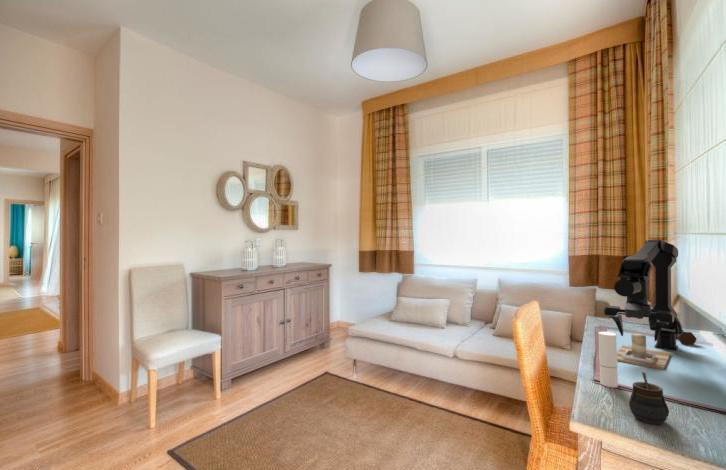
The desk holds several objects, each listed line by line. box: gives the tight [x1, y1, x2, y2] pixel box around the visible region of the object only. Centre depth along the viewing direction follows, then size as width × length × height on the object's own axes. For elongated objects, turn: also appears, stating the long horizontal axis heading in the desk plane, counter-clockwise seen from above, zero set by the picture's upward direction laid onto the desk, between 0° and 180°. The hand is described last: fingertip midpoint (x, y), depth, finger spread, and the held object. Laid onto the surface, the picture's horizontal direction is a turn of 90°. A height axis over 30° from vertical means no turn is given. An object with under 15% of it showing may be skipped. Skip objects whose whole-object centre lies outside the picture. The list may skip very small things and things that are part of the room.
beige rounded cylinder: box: [631, 333, 647, 359], centre depth 121 cm, size 4×4×8 cm
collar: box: [622, 350, 656, 364], centre depth 121 cm, size 8×8×1 cm
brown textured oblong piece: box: [674, 329, 698, 346], centre depth 144 cm, size 6×5×15 cm
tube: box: [598, 331, 619, 388], centre depth 102 cm, size 4×4×15 cm
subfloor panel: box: [617, 344, 672, 371], centre depth 124 cm, size 20×14×1 cm
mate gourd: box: [628, 371, 670, 425], centre depth 83 cm, size 7×8×10 cm
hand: (638, 338), depth 121 cm, fingers open, 9 cm apart
